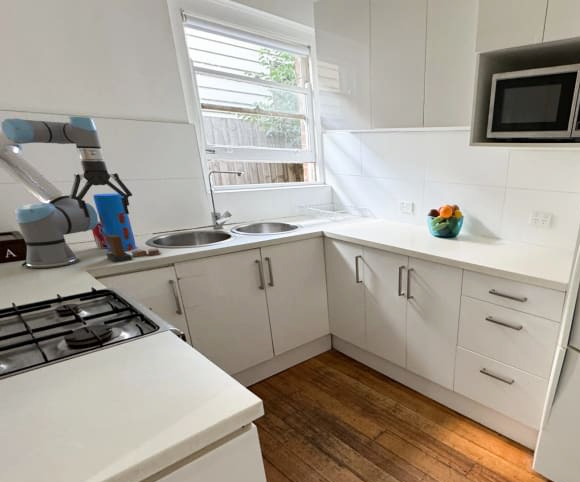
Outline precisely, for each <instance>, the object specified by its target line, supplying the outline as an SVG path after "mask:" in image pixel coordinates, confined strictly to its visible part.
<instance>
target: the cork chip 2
mask: <svg viewBox="0 0 580 482" xmlns="http://www.w3.org/2000/svg"><path fill="white" fill-rule="evenodd" d="M147 252H148V253H147V254H148V255H149V256H158V255H160V254H161V253H160V250H159V248H150V249H147Z"/></svg>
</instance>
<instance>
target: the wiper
mask: <svg viewBox="0 0 580 482" xmlns="http://www.w3.org/2000/svg"><path fill="white" fill-rule="evenodd" d="M107 239H108V243H109V246H110V250H111V251H110V252H109V253H106V257H107V260H110V261H112V262H114V263H121V262H127V261H132V260H133V259H132V255H131V254H129V253H127V252H126V251H124V248H123V245H122V241H121V237H120V236H117V235H115V234H114V235H107Z"/></svg>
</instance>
